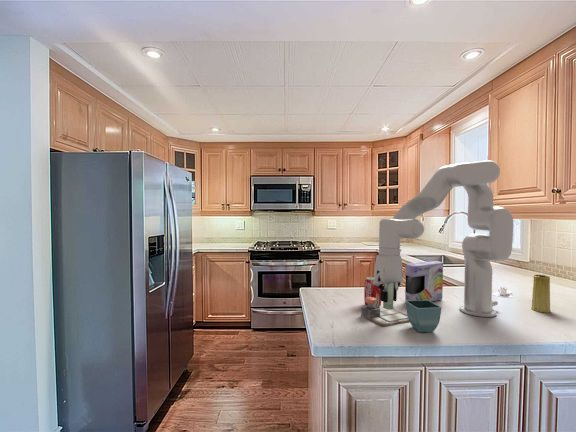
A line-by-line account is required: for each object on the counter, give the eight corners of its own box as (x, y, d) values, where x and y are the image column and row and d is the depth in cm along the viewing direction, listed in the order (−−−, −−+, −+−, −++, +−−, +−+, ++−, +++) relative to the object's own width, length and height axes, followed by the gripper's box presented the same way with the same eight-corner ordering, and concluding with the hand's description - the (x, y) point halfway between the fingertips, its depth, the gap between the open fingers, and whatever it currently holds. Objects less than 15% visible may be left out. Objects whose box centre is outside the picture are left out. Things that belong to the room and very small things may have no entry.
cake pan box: (410, 305, 131) (411, 265, 131) (402, 302, 136) (402, 263, 135) (443, 300, 138) (444, 262, 138) (434, 297, 143) (435, 260, 142)
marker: (388, 305, 116) (389, 274, 116) (395, 308, 113) (396, 276, 112) (380, 306, 115) (381, 275, 114) (387, 309, 111) (388, 277, 111)
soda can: (382, 309, 126) (382, 280, 126) (364, 308, 128) (364, 279, 128) (380, 304, 133) (380, 276, 133) (363, 303, 135) (364, 276, 135)
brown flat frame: (393, 310, 125) (393, 301, 125) (416, 320, 114) (416, 310, 114) (361, 315, 119) (361, 306, 118) (382, 326, 108) (382, 316, 107)
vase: (546, 308, 127) (547, 274, 127) (553, 313, 121) (554, 278, 121) (528, 307, 129) (529, 273, 129) (535, 311, 123) (535, 277, 123)
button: (371, 307, 120) (371, 296, 120) (378, 310, 116) (378, 299, 116) (363, 308, 118) (363, 297, 118) (369, 311, 115) (370, 300, 114)
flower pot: (404, 324, 110) (404, 300, 109) (427, 324, 110) (428, 299, 110) (416, 335, 101) (417, 308, 101) (442, 334, 101) (442, 307, 101)
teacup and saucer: (508, 293, 151) (508, 285, 151) (518, 298, 143) (518, 290, 143) (489, 293, 152) (489, 285, 152) (498, 298, 144) (498, 289, 144)
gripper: (399, 249, 120) (398, 296, 120) (364, 251, 113) (363, 300, 114) (413, 252, 113) (412, 301, 113) (378, 254, 106) (377, 306, 107)
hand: (388, 300), depth 114 cm, fingers closed on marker, 3 cm apart
